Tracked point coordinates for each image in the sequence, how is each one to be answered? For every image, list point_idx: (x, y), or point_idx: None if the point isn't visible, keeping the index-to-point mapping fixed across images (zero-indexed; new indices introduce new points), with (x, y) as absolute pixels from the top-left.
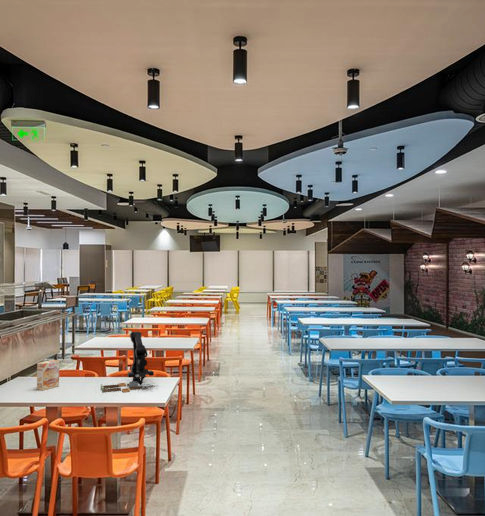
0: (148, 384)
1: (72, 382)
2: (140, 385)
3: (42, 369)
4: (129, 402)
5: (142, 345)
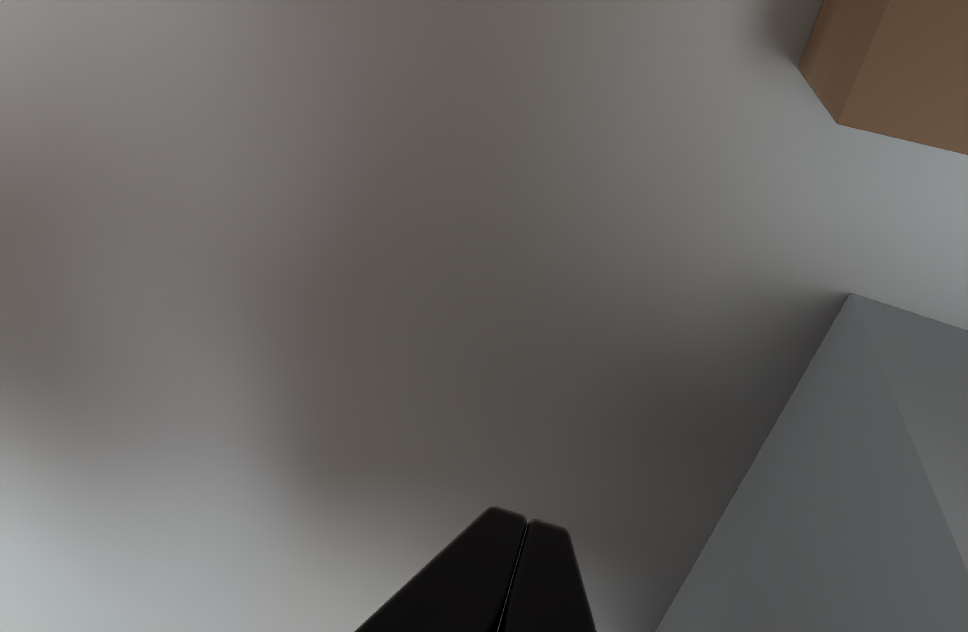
0: (67, 616)
1: None
2: (540, 523)
3: None
4: None
5: None
